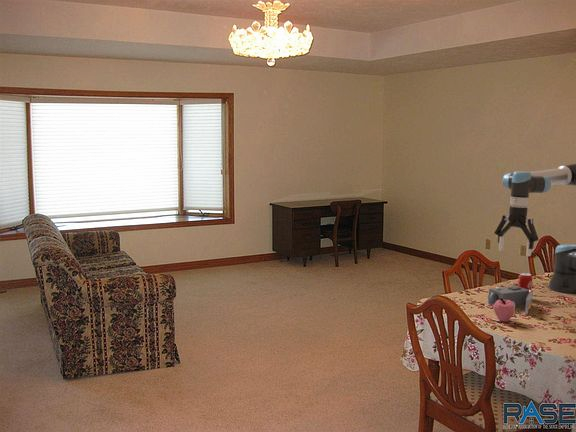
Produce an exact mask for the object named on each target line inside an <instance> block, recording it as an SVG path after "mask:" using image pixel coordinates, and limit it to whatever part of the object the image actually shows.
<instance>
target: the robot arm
mask: <svg viewBox="0 0 576 432" xmlns="http://www.w3.org/2000/svg"><path fill="white" fill-rule="evenodd" d="M555 185H560V186H575V187H576V163H573V164H566V165H560V166H558V167H557V168H550V169H545V170H544V169H542V170H535V171H520V170H519V171H518V170H515V171H513V172H511V173H510V172H509V173H505V174H504V175H503V177H502V186H503V188H504V189H507V190H510V200H509V204H510V206H509V210H508V214H509V215H507V214H505V215H504V214H503V215H502V217H501V221H500V222H499V224H498V225H497V228H496V229H495V231H494V235H496V236H497V243H498V252H501V251H504V247H505V234H506V233H507V232H508V231H509V230H510V229H511V228H513V227H514V228H520V229H521V230H522V231H523V233H524V235H525V236H526V238H527V240H528V241H527V242H526V253H525V257H531V256H532V250H533V249H534V243H535V242H537V241H539V236H538V233H537V231H536V227H535V225H534V219H533V218H528V206H529V196H530V194H531V193H532V194H544V193H547V192H548V191H550V189H551V188H552V187H551V186H555ZM507 221H508V223H507ZM506 223H507V224H506ZM553 263H554V264H553V265H554V266H553V274H552V275H551V278H550V280H549V281H548V282H549V283H548V288H549V289H550V290H552V291H556V292H559V293H565V294H576V244H559V245H557V246H556V248H555V252H554V262H553Z"/></svg>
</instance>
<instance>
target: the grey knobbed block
mask: <svg viewBox="0 0 576 432" xmlns="http://www.w3.org/2000/svg"><path fill="white" fill-rule="evenodd" d="M488 289H489V290H488V296H487V299H488V300H487V301H488V302H487V303H488V304H489V305H492V306H494V304H495V302H496V301H497V300H500V299H501V298H502V299H505V300H511V301H513V302H514V303H515V308H518V307H519V308H520V307H526V298H527V296H528V294H529V290H527V289H524V288H521V287H518V285H508V286H501V287H500V286H496V287H490V288H488Z"/></svg>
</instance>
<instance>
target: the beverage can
mask: <svg viewBox="0 0 576 432" xmlns="http://www.w3.org/2000/svg"><path fill="white" fill-rule="evenodd" d="M517 286H518V287H521V288H524V289H527V290H533V289H532V288H533V287H532V286H533V276H532V274H531V273H527V272H520V273H519V275H518V276H517Z"/></svg>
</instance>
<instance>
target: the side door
mask: <svg viewBox="0 0 576 432" xmlns="http://www.w3.org/2000/svg"><path fill="white" fill-rule="evenodd" d="M533 291H534V290H533V289H531V290H529V294H528V296H527V298H526V306H524V307H525V309H524V311H525V312H524V315H528V314H529V311H530V309H531V308H532V307H531V306H532V305H533V304H532V303H533V293H534V292H533Z"/></svg>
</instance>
